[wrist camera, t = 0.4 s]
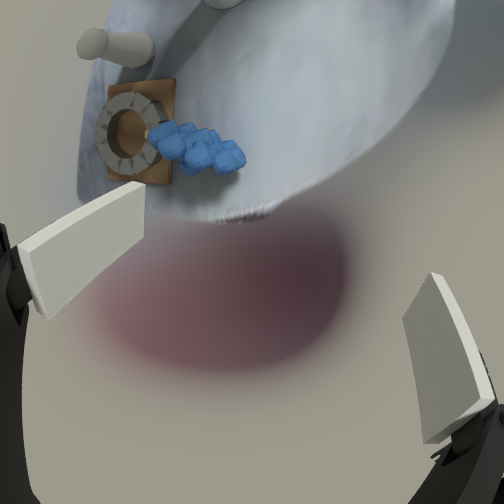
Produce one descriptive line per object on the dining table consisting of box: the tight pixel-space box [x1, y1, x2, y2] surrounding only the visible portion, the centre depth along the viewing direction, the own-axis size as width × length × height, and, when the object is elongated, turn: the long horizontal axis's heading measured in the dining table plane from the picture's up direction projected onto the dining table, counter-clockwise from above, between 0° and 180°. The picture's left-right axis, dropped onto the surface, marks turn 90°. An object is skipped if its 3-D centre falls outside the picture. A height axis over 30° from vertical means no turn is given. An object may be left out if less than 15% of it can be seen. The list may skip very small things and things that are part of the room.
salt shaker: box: [77, 28, 155, 68], centre depth 26 cm, size 6×6×13 cm
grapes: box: [147, 120, 246, 177], centre depth 32 cm, size 12×7×12 cm, turn 63°
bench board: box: [108, 79, 176, 185], centre depth 37 cm, size 16×12×1 cm
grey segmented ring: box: [96, 92, 170, 175], centre depth 36 cm, size 12×12×3 cm
